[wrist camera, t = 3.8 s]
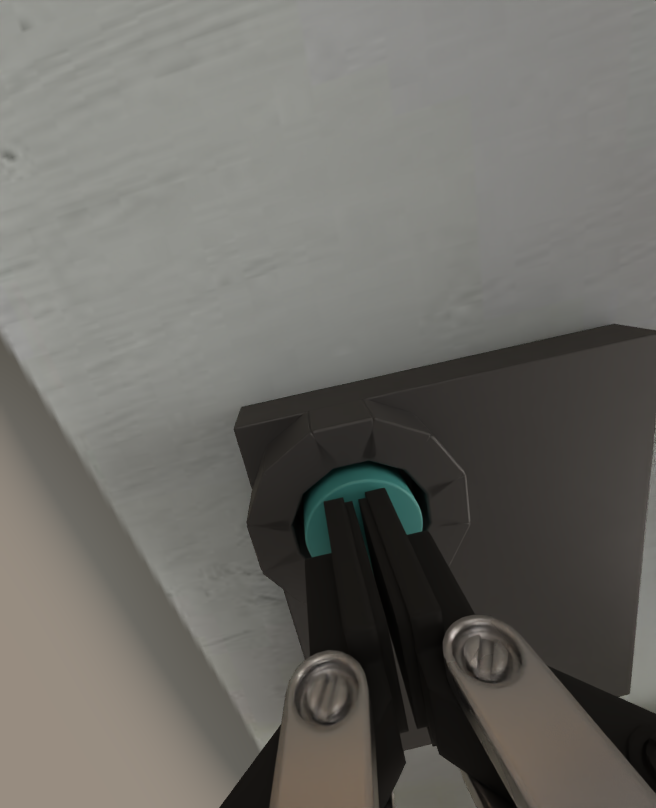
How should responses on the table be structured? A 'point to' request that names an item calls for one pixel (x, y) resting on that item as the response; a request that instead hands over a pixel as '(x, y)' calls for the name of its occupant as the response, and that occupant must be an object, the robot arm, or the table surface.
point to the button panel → (489, 485)
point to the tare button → (356, 500)
